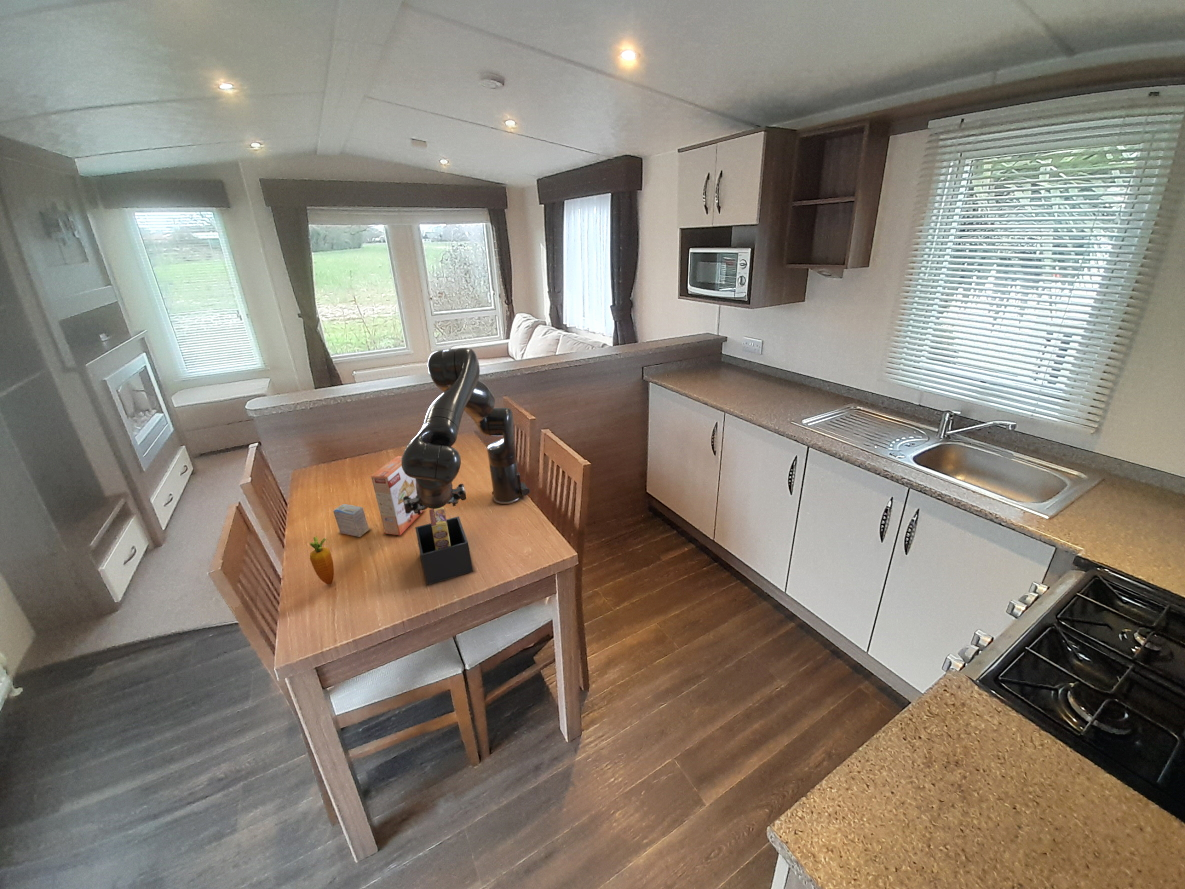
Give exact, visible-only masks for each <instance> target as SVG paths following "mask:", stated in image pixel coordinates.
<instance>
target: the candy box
mask: <svg viewBox="0 0 1185 889" xmlns="http://www.w3.org/2000/svg"><path fill="white" fill-rule="evenodd" d="M428 510H429V511H428V512H429V517H430V523H431V527H432V532H433V538H434V544H435V549H436V550H439V549H443V548H446V547H450V546H451V544H450V538H449V532H448V526H447V520H446V519H447V515H446V511H445V506H443V507H441V508H437V509H431V508H430V509H428Z"/></svg>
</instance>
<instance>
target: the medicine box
mask: <svg viewBox="0 0 1185 889" xmlns="http://www.w3.org/2000/svg"><path fill="white" fill-rule="evenodd" d="M332 512H333V515H334V518H335V521H336V523H337V524H336V525H337V527H338V531H339V533H340V534H343V535H347V536H353V537H357V538H361V537H362V536H363V535H364V534H366V533H367V532H368V531H370V527H369V525H368V520H367V517H366V513H365V510H364V507H363V506H358V505H353V504H347V503H342V504H341V505H339V506H337V507H336V508H335V509H334V510H333V511H332Z"/></svg>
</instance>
